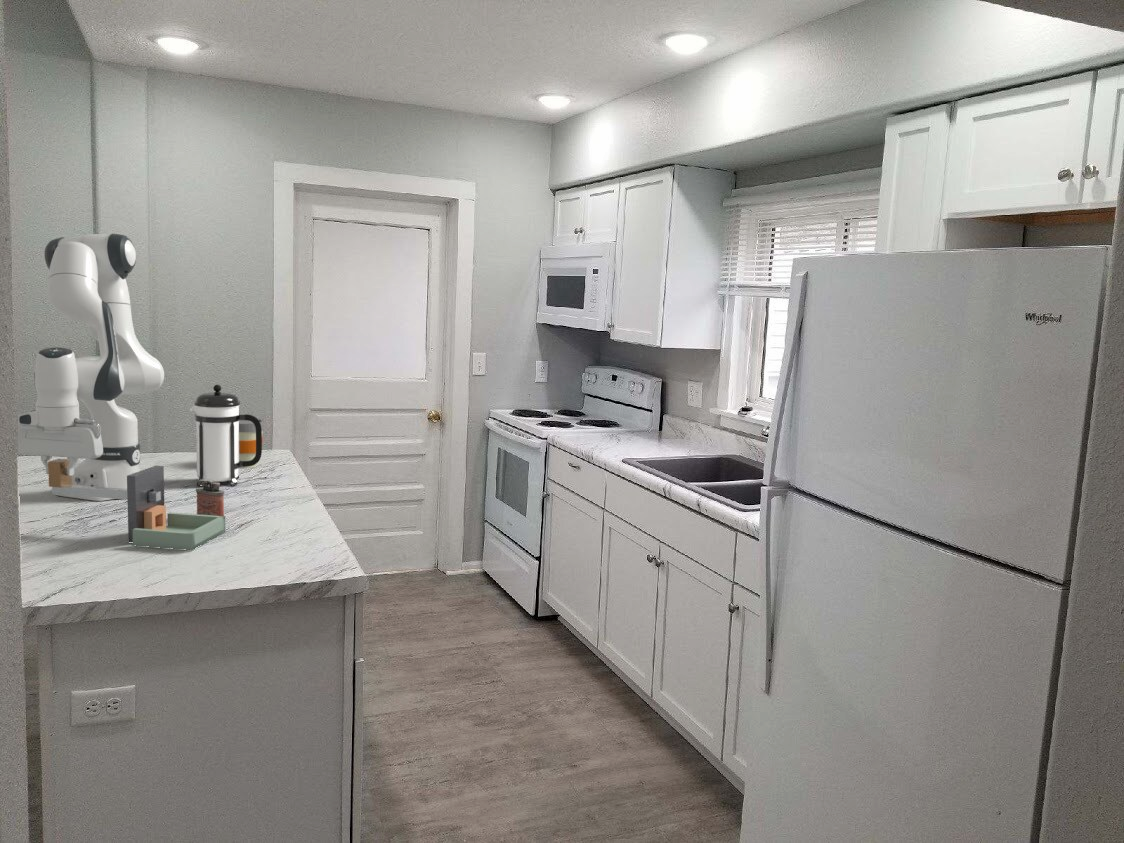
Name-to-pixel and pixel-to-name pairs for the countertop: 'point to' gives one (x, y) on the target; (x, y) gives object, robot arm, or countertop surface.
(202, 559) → the countertop surface
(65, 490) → the shaft
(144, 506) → the bearing plate
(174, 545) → the tray
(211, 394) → the coffee press
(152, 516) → the collar
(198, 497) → the lighter
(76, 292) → the robot arm
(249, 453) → the reusable coffee cup
